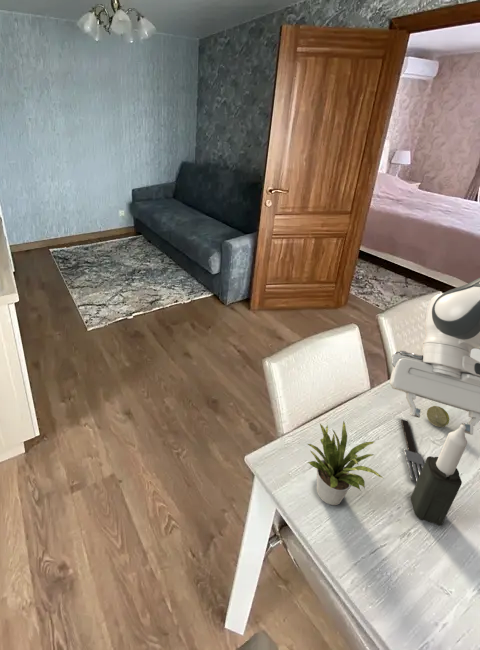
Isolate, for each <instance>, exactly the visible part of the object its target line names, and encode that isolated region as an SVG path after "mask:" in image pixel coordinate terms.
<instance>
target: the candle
mask: <svg viewBox="0 0 480 650" xmlns="http://www.w3.org/2000/svg"><path fill="white" fill-rule="evenodd" d="M465 429H466V427H465V426H464V425H462V424H460V425H459V427H458V428H457V429H456V430H453V431H450V432H448V434H447V436H446V439H445V441H444V443H443V445H442V448H441V451H440V453H439V455H438V456H427V457H426V458H425V462H424V466H423V469H421V473H420V476H419V475H418V481H417V483H416V482H415V483H416V484H415V486H414V489H413V490H412V493H411V495H410V502H411V506H412V510H413V514H414V515H415V516H416V518H418V519H419V520H421V521H427V522H430V523H432V524H435V525H436V526H442V525H443V523H444V521H445V520H446V517H447V516H448V513H449V511H450V510H451V507H452V505H453V503H454V500H455V499H456V497H457V495H458V492H459V490H460V489H461V486H462V485H463V482H462V479H461V476H460V472H459V469H458V468H457V467H458V465H459V463H460V461H461V459H462V457H463V454H464V453H465V450H466V448H467V446H468V440H467V437H466V433H465Z"/></svg>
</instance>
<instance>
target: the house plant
mask: <svg viewBox="0 0 480 650" xmlns="http://www.w3.org/2000/svg"><path fill="white" fill-rule="evenodd" d="M319 426H320V430H321V432H322V438H320V443H321V445H322V450H323V452H322V450H321V449H320V447H318V446H316V445H313V444H312V443H307V445H308V446H309V447H310V448H312V449H313V450H315V451H316V452H317V454H319V455H320V456H321V458H322V460H321V458H319V456H318V455H317V454H316V453H315V452H313V451H312V450H311V449H309V451H310V453H311V454H312V456H314V459H315V460H312V461H307V462H306V463H307V464H309V465H310V466H311V467H313V468H315V469H316V492H317V496H318V497H319V498H320V499H321V500H322V501H323V502H324V503H326V504H327V505H330V506H337V505H340V503H341V502H342V500H343V499H344V498H345V497H346V495H347V493H348V492H349V490H350V489H351V487H353V488H356V489H358V490H359V491H360V492H362V490H361V487H360V486H362V487H363V489H364V490H365V487H366V486H365V482H366V481H365V480H364V478H363V476H362V475H359V474H357V473H351V472H352V471H363V472H367V473H371V474H373V475H376V476H377V477H379V478H382V479H385V478H384V477H383V476H382V475H381V474H379V473H378V472H377V471H376V470H374V469H372V468H370V467H368V466H364V465H359V462H361V461H364V460H365V459H367V458H369V457H373V456H375V454H373V453H367V454H363V455H360V456H358V453H359V452H360V451H362V450H364V449H365V448H366V447H368V446H370V445H372V444H375V441H364V442H362V443H360V444H358V445H356V446H354V447H353V448H352V449H350V451H348V454H347V455H346V456H345V452H346V448H347V445H348V444H347V443H348V432H347V428H346V423H345V420H343V422H342V426H341V427H342V428H341V440H340V439H339V437H338V435H337V432H336V431H335V430H334V429H333V428H332V432H333V435H332V438H331V437H330V435H329V433H328V432H329V427H328V424H326V427H324V425H322V423H319ZM355 465H357V466H355Z"/></svg>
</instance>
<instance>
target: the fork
mask: <svg viewBox="0 0 480 650" xmlns="http://www.w3.org/2000/svg"><path fill="white" fill-rule="evenodd" d="M400 423H401V427H402V431H403V436H404V440H405V445H406V448H407V449H405V448H404V449H403V454H404V458H405V461H406V465H407V470H408V475H409V479H410V481H411V482H414V481H415V483H417V481H418V478H419V476H420V473H421V471H422V469H423V466H424V464H425V462H424V460H423V457H422V454H421V453H417V449H416V446H415V443H414V438H413V435H412V430H411V427H410V424H409V420H405V419H400Z"/></svg>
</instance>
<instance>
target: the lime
mask: <svg viewBox="0 0 480 650" xmlns="http://www.w3.org/2000/svg"><path fill="white" fill-rule="evenodd" d="M426 418H427V420H428V422H429V423H431V425H433V426H435V427H438V428H444V427H446V426H448V425H449V423H450V415H449V413H448V411H446V409H444V408H443V407H441V406H439V405H432V406H430V407H428V408H427V411H426Z"/></svg>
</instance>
